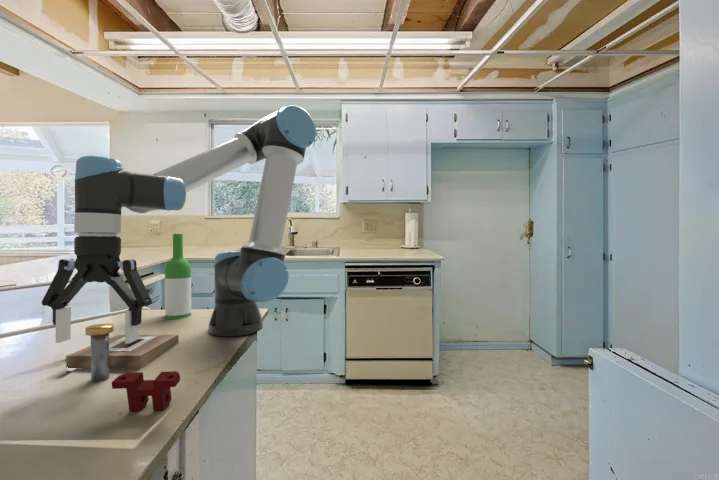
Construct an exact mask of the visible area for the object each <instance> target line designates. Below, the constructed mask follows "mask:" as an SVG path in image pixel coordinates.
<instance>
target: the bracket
mask: <svg viewBox="0 0 719 480" xmlns="http://www.w3.org/2000/svg"><path fill="white" fill-rule="evenodd" d="M180 381H181V375H180V373H179V372H178V371H177V370H176V371H174V370H173V371H160V373H158V375H157V376H156V377H155V378H154V379H144V372H142V371H140V372H139V371H138V372H125V373H123V374H120V375H118V376H117V377H116V378H114V379H113V380H112V382H111V383H110V384H111V389H112V390H114V389H115V390H118V389H119V390H121V389H126V396H127V402H128V403H127V404H128V405H127V406H128V411H129V412H135V411H138V412H140V411H142V410H144V408H145V407H146V406H147V404H148V402H149V397H151V400H152V402H151V403H152V410H153V411H163V410H164V411H165V410H166V409H167V408H168V407H169V405H170V404H171V401H172V391H171V388H176V386H177V385H178V384H179V383H180Z"/></svg>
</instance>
